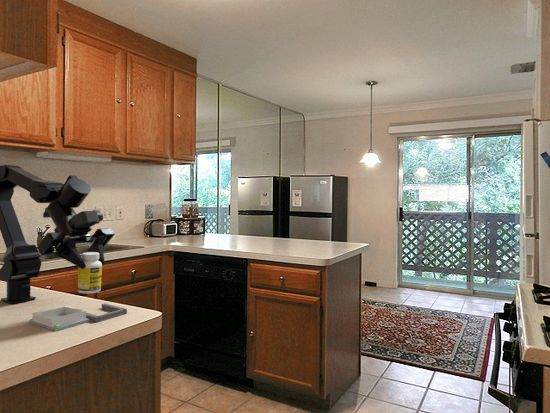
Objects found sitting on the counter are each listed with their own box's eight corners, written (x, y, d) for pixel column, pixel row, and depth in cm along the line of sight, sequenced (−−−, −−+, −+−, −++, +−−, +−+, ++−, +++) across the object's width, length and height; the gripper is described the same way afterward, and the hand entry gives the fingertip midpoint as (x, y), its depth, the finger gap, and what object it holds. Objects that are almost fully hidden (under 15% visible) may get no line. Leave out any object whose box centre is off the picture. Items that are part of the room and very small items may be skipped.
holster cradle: (74, 315, 100) (74, 311, 100) (104, 307, 108) (104, 303, 108) (96, 322, 96) (96, 317, 96) (126, 313, 104) (126, 308, 104)
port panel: (29, 322, 95) (29, 312, 95) (62, 313, 102) (63, 304, 102) (55, 331, 89) (56, 320, 89) (89, 321, 96) (89, 311, 96)
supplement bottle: (90, 295, 96) (91, 255, 96) (72, 292, 98) (73, 253, 98) (105, 290, 102) (106, 252, 101) (88, 287, 103) (89, 250, 103)
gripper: (46, 198, 92) (77, 250, 88) (110, 199, 109) (139, 242, 105) (25, 229, 96) (53, 280, 92) (90, 225, 113) (116, 267, 108)
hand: (94, 266), depth 99 cm, fingers closed on supplement bottle, 5 cm apart
